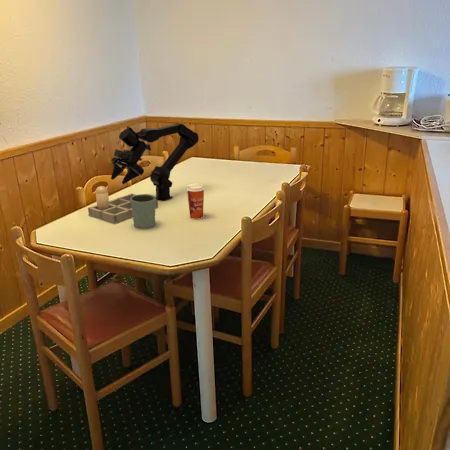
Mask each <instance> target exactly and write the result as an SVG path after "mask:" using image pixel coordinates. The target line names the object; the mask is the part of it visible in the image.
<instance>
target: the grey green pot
mask: <svg viewBox="0 0 450 450" xmlns="http://www.w3.org/2000/svg"><path fill="white" fill-rule="evenodd" d="M156 197H157V196H156V195H153V194H150V193H149V194H148V193H147V194H146V193H142V194H135V196H132V197H131V198H130V200H131V206H132V212H133V217H132V218H133V219H132V220H133V226H134V228H135V229H139V230H142V229H143V230H145V229H146V230H147V229H151V228H153V227H154V226H155V225H156V209H155V202H156V200H157V199H156Z"/></svg>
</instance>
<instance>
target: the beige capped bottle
mask: <svg viewBox="0 0 450 450" xmlns="http://www.w3.org/2000/svg"><path fill="white" fill-rule="evenodd" d="M95 197H96V198H95V200H96V205H97V209H99V210H102V211H103V210H105V209H108V208H110V206H109V201H110V198H109V197H110V196H109V191H108V188H107V187H106V186H103V185H100V186H98V187H96V189H95Z"/></svg>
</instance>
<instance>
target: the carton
mask: <svg viewBox="0 0 450 450" xmlns="http://www.w3.org/2000/svg"><path fill="white" fill-rule="evenodd" d="M135 195H136V194H135V193H129V194H126V195H124V196H120V197H117V198H115V199H111V200H109V206H110V208H108V209H105V210H103V211H102V210H99V209H97V204H96V205H93V206H90V207H88V208H87V209H88V210H87V212H88V216H89V217H92V218H95V219H98V220H100V221H104V222H107V223H111V224H112V225H113V224H114V225H116V224H119V223H121V222H124V221H126V220H129V219H132V218H134V217H133V212H132V206H131V200H130V198H131V197H132V196H135ZM158 208H159V201H158V199H156V202H155V210H156V209H158Z"/></svg>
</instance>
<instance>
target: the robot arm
mask: <svg viewBox="0 0 450 450" xmlns="http://www.w3.org/2000/svg"><path fill="white" fill-rule="evenodd" d="M174 134H177V135H178V136H179V143H178V144H177V145H176V147H175V148H174V150H173V151H172V152H171V153H170V155H169V156H168V157H167V159H166V160H165V161H164V162H163V164H162V165H161V166H157V165H156V166H155V167H154V168H153V170H151V171H150V172H151V173H150V175H149V179H150V181H151V183H152V184H153V186H155V197H156V200H159V201H162V202H164V201H167V200H169V199H173V196H171V188H172V186H173V182H172V181H171V180H170V176H171V172H172V170H173V169H174V168H175V167H176V165H177V164H178V163H179V161H180V160H181V158H183V156H184V155H185V153H186V152H187V151H188V150H189V149H191V148H192V147H194V146H196V144H197V143H198V142H199V140H200V138H199V134H198V133H197V132H195V131H193V130H192V129H190V128H189V127H187V126H186V125H185V124H183V123H180V122H176V123H174V124H169V125H166V126H161V127H157V128H156V127H155V128H151V127H147V128H145V127H144V128H140V131H138V132H137V131H134V129H133V128H132V127H130V126H128V127H127V128H125V129H124V130H122V131H121V132H120V133H119V136H118V139H120V140H121V142H123V143H124V144H125V145H126V146H127V147H130V150H129V149H123V150H119V149H116V148H115V150H114V154H113V157H112V159H111V160H110V161H111V164H112V166H113V167H112V173H111V177H110V179H111V180H112V181H113V180H115V179H116V178H117V177H118V176H120V175H121V174H122V172H124V169H126V168H127V169H126V171H127V172H126V174H125V175H124V177H123V179H122V181H121V184H122V185H125V184H127V183H128V182H130V181H131V180H133V179H135V178H137V177H140V176H142V175H143V174H144V173H145V170H144V168H143V167H142V166H141V165H139V164H138V162H141V161H142V160H143V158H142V157H143V155H144V153H145V152H146V151H150V152H151V151H152V148H151V144H149V143H154V142H156V141H158V140H159V139H160V138H163V137H166V136H167V137H168V136H171V135H174Z"/></svg>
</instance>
